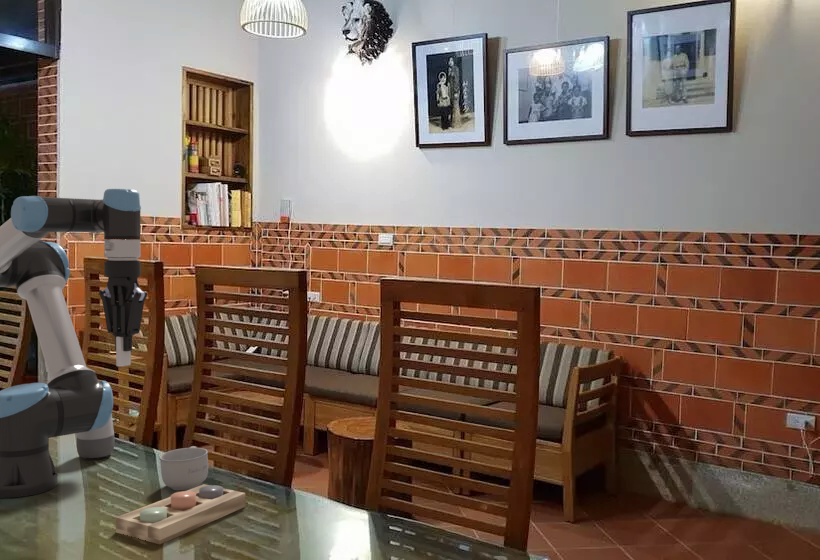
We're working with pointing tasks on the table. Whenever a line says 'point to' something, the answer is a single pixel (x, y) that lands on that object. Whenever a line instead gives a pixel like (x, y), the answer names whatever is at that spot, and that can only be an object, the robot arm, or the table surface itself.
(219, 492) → the charcoal button
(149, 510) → the sage button
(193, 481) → the teacup
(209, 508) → the button panel
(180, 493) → the terracotta button
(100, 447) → the smart speaker
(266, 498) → the table surface
